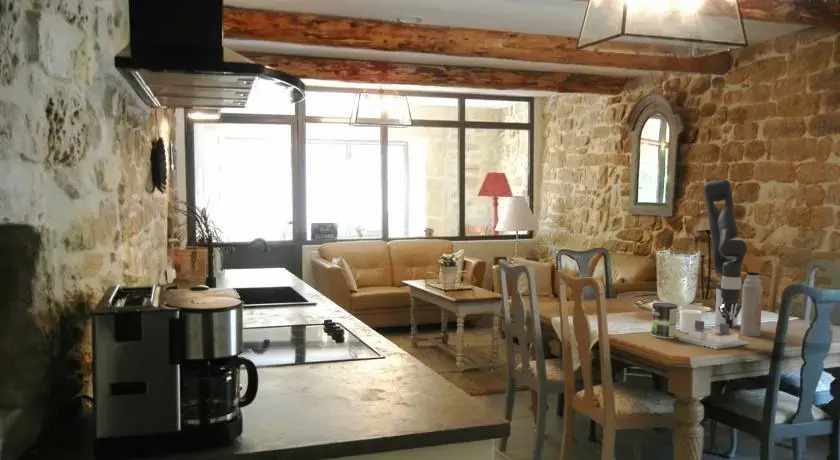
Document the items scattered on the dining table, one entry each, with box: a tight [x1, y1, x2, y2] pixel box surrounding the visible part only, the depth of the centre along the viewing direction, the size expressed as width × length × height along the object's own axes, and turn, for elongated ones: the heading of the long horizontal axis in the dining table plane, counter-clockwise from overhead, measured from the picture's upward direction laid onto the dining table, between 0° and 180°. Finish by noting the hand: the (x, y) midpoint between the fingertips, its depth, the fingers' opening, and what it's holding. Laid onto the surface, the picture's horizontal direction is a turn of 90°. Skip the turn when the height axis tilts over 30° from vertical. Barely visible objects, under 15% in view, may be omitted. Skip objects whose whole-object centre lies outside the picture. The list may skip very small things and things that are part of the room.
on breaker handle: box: [695, 320, 705, 330], centre depth 285 cm, size 2×3×4 cm, turn 30°
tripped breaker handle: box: [719, 323, 730, 333], centre depth 280 cm, size 2×3×4 cm, turn 30°
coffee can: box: [650, 301, 678, 340], centre depth 294 cm, size 10×10×14 cm
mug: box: [676, 309, 702, 334], centre depth 305 cm, size 12×9×9 cm
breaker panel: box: [678, 326, 748, 350], centre depth 283 cm, size 20×18×5 cm
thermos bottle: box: [740, 271, 763, 337], centre depth 299 cm, size 8×8×28 cm
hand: (729, 327), depth 281 cm, fingers closed
